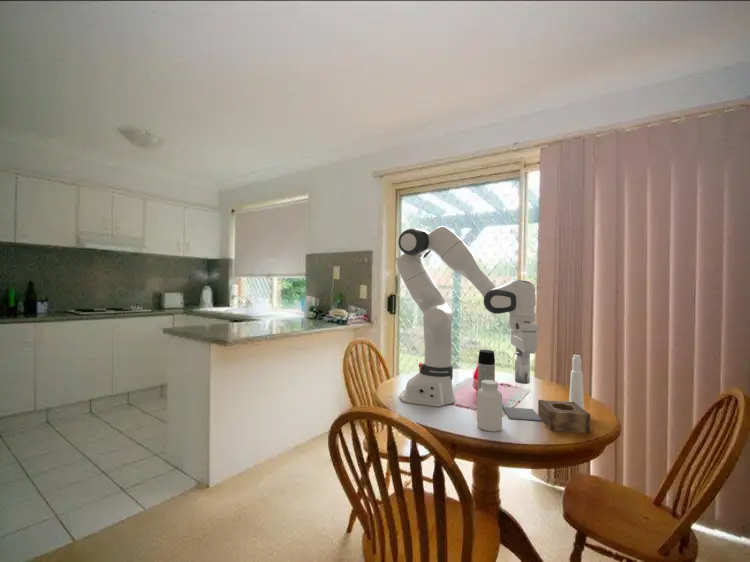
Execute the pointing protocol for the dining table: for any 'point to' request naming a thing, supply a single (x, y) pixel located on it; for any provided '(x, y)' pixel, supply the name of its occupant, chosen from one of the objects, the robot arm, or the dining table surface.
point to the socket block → (564, 416)
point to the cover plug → (521, 369)
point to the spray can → (486, 366)
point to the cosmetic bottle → (576, 382)
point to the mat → (521, 414)
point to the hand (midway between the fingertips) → (522, 361)
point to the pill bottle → (489, 406)
